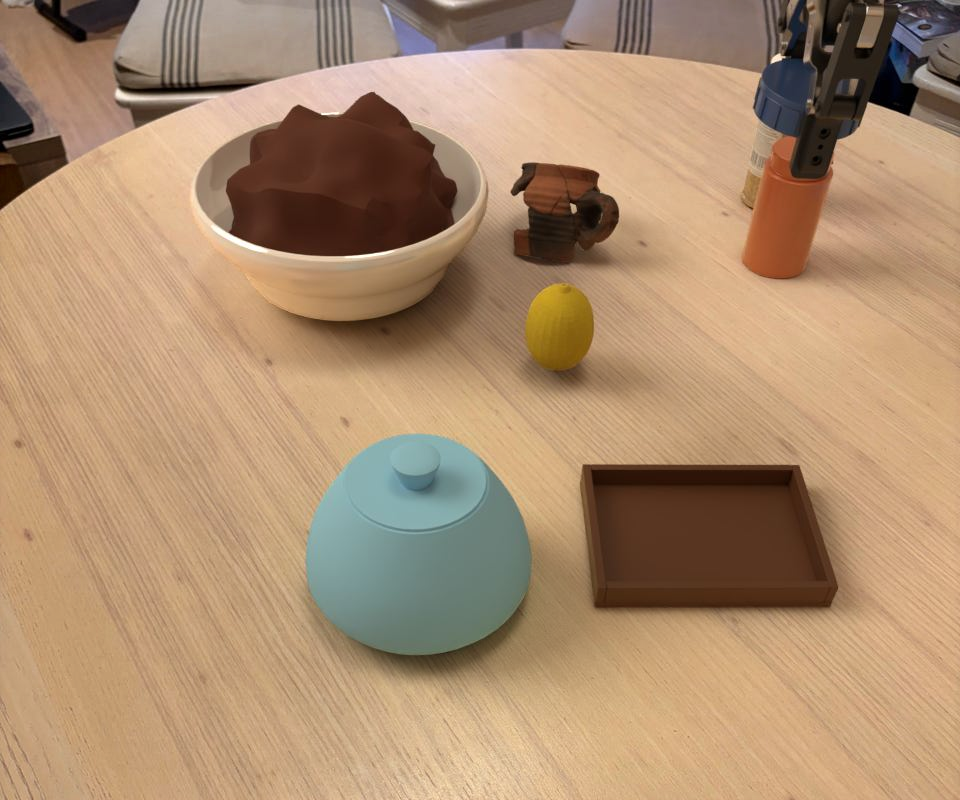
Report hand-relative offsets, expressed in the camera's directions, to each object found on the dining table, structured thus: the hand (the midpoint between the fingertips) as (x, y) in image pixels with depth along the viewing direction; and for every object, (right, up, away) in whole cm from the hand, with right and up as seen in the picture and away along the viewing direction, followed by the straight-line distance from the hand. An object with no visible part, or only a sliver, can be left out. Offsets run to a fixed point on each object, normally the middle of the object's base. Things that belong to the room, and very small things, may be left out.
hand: (795, 147), depth 64 cm
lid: (0, +2, -3) cm, 3 cm away
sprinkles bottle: (+9, +13, +40) cm, 43 cm away
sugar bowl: (-24, -27, +6) cm, 37 cm away
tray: (-4, -24, +9) cm, 26 cm away
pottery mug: (-12, +7, +34) cm, 37 cm away
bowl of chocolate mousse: (-32, +2, +29) cm, 43 cm away
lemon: (-14, -9, +21) cm, 27 cm away
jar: (+8, +5, +32) cm, 34 cm away
